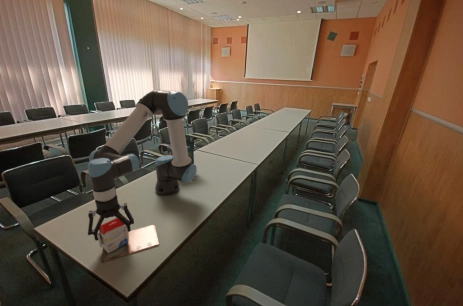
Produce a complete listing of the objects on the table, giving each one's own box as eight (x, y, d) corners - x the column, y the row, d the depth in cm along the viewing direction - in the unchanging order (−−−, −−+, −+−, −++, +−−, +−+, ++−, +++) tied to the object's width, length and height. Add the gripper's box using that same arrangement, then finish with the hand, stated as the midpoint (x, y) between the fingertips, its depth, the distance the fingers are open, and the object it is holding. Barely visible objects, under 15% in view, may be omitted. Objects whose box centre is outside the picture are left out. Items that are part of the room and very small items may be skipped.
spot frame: (128, 232, 98) (127, 231, 98) (129, 254, 86) (129, 253, 86) (103, 239, 93) (103, 238, 93) (101, 262, 82) (101, 261, 82)
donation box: (194, 171, 164) (193, 137, 155) (177, 177, 153) (175, 141, 143) (182, 165, 174) (181, 133, 165) (165, 170, 163) (163, 136, 153)
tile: (154, 225, 103) (154, 224, 103) (159, 244, 92) (158, 243, 91) (128, 232, 98) (127, 231, 98) (129, 254, 86) (129, 252, 86)
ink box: (123, 237, 94) (118, 210, 89) (128, 242, 91) (123, 215, 86) (102, 248, 88) (96, 220, 83) (107, 254, 85) (101, 225, 80)
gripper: (135, 186, 89) (141, 228, 97) (73, 198, 79) (85, 243, 87) (137, 195, 83) (143, 238, 91) (69, 208, 73) (83, 256, 81)
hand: (115, 241), depth 89 cm, fingers closed on ink box, 9 cm apart
